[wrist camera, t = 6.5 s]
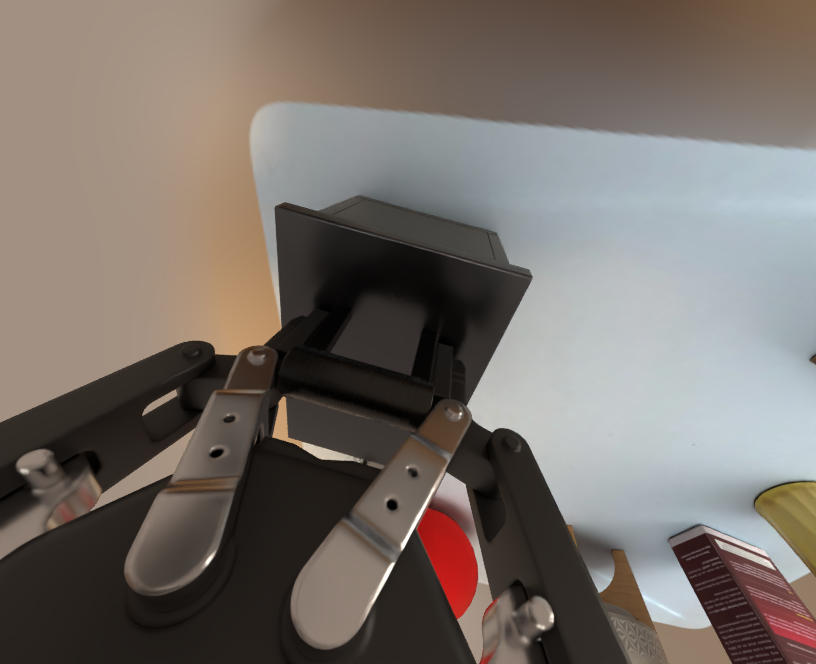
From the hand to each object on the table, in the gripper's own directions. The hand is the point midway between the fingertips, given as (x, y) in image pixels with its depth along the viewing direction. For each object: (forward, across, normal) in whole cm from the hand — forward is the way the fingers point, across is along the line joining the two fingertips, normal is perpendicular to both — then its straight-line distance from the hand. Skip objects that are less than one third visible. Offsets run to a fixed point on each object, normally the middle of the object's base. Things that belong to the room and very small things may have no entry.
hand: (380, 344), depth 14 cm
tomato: (+12, -10, +34) cm, 37 cm away
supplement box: (+12, -41, +22) cm, 48 cm away
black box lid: (+1, 0, +3) cm, 3 cm away
